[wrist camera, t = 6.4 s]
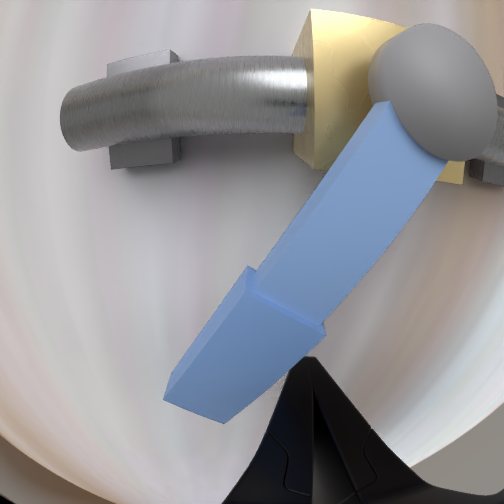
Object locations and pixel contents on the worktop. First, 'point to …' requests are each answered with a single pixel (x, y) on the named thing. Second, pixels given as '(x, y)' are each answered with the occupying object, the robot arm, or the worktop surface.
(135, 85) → the pipe run
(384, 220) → the valve lever
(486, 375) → the worktop surface
